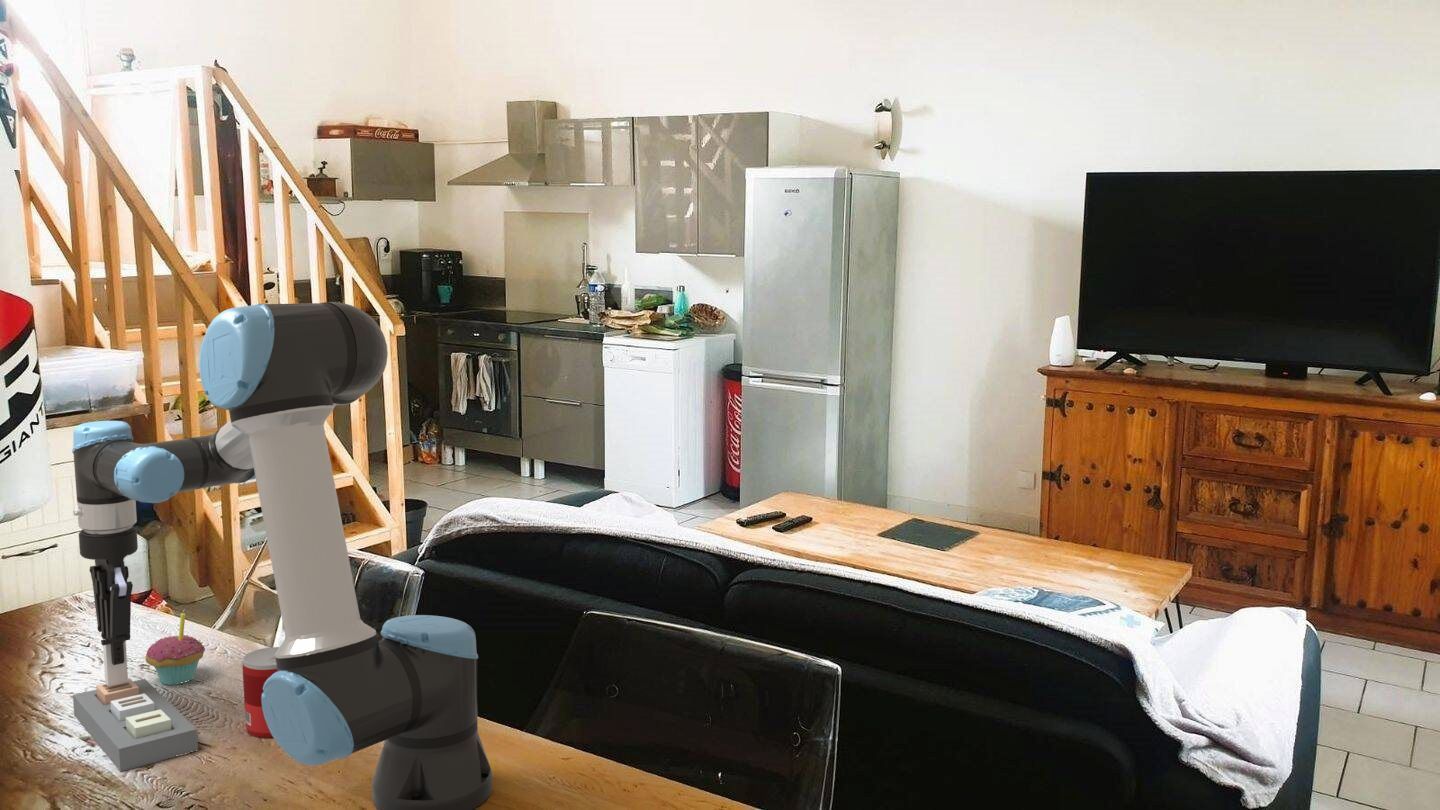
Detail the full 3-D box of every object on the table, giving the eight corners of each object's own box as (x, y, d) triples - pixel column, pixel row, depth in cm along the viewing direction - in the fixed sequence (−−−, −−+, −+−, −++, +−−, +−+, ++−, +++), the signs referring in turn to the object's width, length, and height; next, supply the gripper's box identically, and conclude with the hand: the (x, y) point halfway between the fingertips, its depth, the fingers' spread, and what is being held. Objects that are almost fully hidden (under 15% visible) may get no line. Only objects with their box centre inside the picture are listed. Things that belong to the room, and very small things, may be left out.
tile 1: (171, 734, 163) (170, 718, 163) (136, 743, 160) (135, 727, 160) (161, 724, 166) (160, 708, 166) (126, 732, 163) (125, 716, 163)
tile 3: (139, 701, 174) (138, 686, 174) (105, 709, 171) (104, 694, 171) (130, 692, 177) (129, 677, 177) (97, 699, 174) (96, 684, 174)
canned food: (284, 741, 167) (281, 667, 165) (233, 735, 169) (230, 662, 167) (313, 720, 174) (310, 649, 173) (264, 714, 176) (261, 644, 174)
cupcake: (216, 672, 192) (213, 601, 191) (184, 692, 184) (180, 618, 182) (169, 668, 194) (165, 598, 192) (135, 687, 185) (130, 614, 184)
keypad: (198, 750, 164) (197, 729, 163) (120, 771, 157) (118, 749, 156) (146, 698, 181) (144, 678, 181) (74, 715, 175) (72, 694, 174)
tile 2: (155, 717, 169) (154, 701, 168) (120, 726, 166) (119, 710, 165) (145, 707, 172) (144, 692, 172) (111, 715, 169) (110, 700, 169)
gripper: (67, 522, 173) (77, 675, 176) (91, 541, 163) (101, 702, 167) (122, 515, 178) (131, 664, 181) (149, 532, 168) (157, 689, 172)
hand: (116, 682), depth 174 cm, fingers closed
